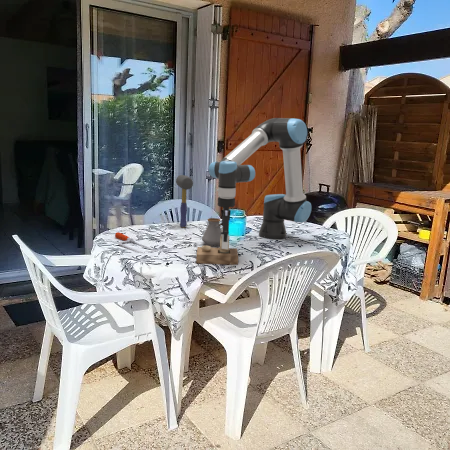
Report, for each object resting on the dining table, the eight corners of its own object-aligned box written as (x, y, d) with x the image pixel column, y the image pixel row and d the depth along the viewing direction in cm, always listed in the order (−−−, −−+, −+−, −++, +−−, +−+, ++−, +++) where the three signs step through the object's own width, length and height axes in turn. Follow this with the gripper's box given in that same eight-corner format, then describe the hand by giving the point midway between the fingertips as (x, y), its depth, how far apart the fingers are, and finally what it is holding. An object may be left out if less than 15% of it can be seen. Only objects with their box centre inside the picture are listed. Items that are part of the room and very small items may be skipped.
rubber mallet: (192, 229, 260) (194, 176, 254) (179, 230, 258) (181, 176, 251) (186, 224, 272) (187, 174, 265) (174, 225, 269) (175, 174, 262)
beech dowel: (228, 259, 208) (229, 235, 206) (228, 261, 204) (229, 237, 202) (219, 258, 208) (220, 235, 205) (219, 261, 204) (220, 237, 201)
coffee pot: (198, 242, 235) (199, 213, 231) (219, 240, 239) (220, 212, 236) (213, 253, 215) (214, 222, 212) (235, 252, 220) (237, 221, 216)
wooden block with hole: (236, 256, 212) (237, 244, 211) (237, 264, 200) (238, 251, 199) (197, 255, 211) (197, 242, 210) (196, 263, 200) (196, 249, 198)
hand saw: (160, 247, 216) (143, 251, 209) (160, 253, 217) (142, 258, 210) (119, 231, 237) (102, 234, 230) (119, 237, 238) (102, 240, 231)
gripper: (217, 192, 212) (215, 237, 216) (218, 201, 187) (216, 252, 192) (233, 193, 212) (231, 237, 217) (236, 202, 188) (234, 252, 192)
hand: (224, 244), depth 204 cm, fingers open, 13 cm apart
